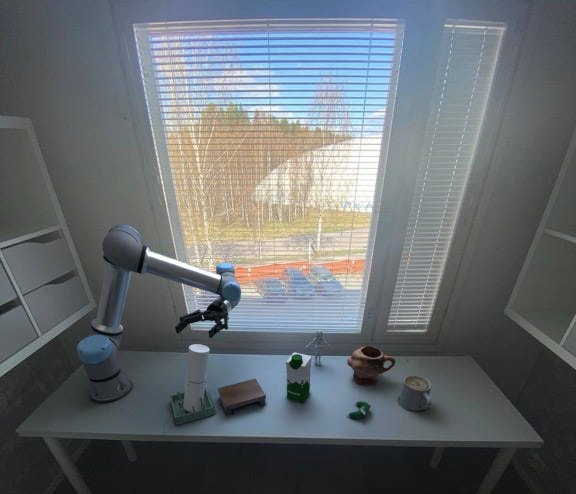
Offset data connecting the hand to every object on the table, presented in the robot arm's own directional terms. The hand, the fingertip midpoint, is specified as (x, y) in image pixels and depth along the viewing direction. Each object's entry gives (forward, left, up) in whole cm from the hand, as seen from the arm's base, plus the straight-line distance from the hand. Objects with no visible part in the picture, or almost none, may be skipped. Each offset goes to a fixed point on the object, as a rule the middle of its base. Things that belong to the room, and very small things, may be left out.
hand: (193, 332), depth 118 cm
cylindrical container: (+8, -6, -28) cm, 29 cm away
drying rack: (+7, -6, -28) cm, 30 cm away
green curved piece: (+36, +52, -28) cm, 69 cm away
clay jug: (+19, +68, -28) cm, 76 cm away
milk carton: (+17, +35, -28) cm, 48 cm away
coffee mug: (+41, +74, -28) cm, 89 cm away
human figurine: (0, +53, -28) cm, 60 cm away
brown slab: (+11, +13, -28) cm, 33 cm away
